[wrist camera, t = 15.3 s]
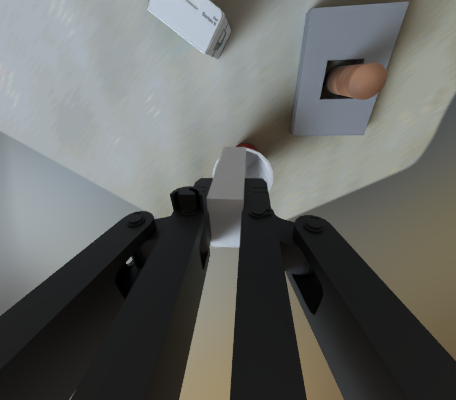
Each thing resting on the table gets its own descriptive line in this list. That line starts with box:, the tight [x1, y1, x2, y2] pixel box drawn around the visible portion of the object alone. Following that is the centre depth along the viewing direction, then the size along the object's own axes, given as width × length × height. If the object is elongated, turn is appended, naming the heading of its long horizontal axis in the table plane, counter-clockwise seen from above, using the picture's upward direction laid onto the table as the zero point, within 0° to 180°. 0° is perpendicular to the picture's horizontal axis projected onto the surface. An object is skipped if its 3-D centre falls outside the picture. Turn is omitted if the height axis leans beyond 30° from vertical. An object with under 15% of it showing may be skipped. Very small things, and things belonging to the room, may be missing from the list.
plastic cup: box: [212, 143, 273, 192], centre depth 39 cm, size 11×11×12 cm
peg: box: [324, 63, 387, 100], centre depth 30 cm, size 4×4×12 cm
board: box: [290, 1, 410, 136], centre depth 33 cm, size 18×13×3 cm
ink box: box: [147, 0, 231, 59], centre depth 28 cm, size 9×5×12 cm, turn 58°
